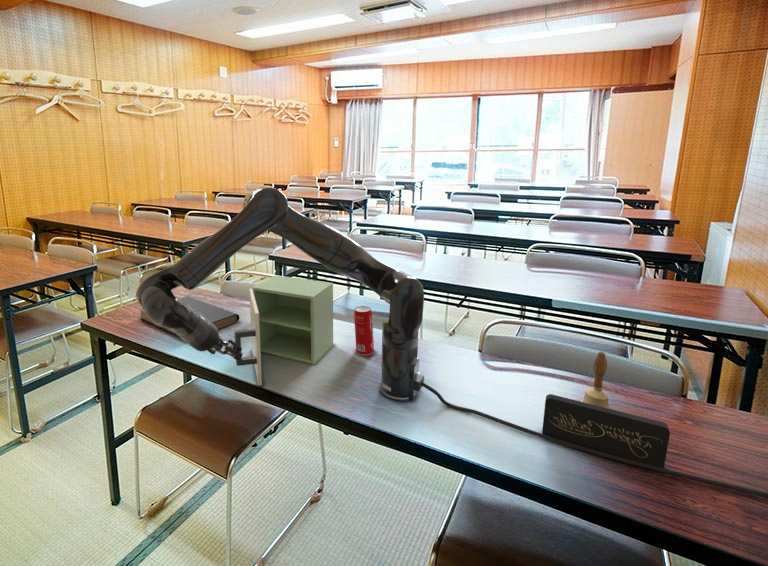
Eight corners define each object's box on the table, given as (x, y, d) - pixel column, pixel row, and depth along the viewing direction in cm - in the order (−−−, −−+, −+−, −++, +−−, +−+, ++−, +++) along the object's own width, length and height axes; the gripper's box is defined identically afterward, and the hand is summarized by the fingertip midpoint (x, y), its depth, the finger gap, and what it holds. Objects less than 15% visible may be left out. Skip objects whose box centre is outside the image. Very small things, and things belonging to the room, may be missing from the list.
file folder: (139, 309, 171) (190, 294, 189) (140, 319, 172) (190, 303, 189) (186, 331, 149) (239, 312, 166) (187, 342, 150) (239, 322, 167)
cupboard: (314, 364, 132) (313, 296, 128) (254, 350, 142) (251, 287, 138) (333, 345, 145) (333, 282, 140) (277, 333, 155) (275, 275, 151)
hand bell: (617, 427, 99) (626, 364, 96) (574, 416, 103) (581, 355, 100) (613, 408, 106) (622, 349, 103) (573, 399, 110) (580, 342, 107)
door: (237, 388, 120) (233, 315, 115) (234, 352, 141) (230, 289, 136) (261, 385, 121) (258, 313, 116) (254, 350, 142) (252, 288, 138)
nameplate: (661, 467, 87) (669, 423, 85) (663, 473, 85) (670, 428, 83) (542, 432, 98) (546, 392, 96) (541, 436, 97) (545, 396, 95)
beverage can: (374, 357, 136) (374, 312, 133) (353, 355, 137) (353, 311, 134) (374, 348, 141) (374, 305, 138) (354, 347, 143) (354, 304, 140)
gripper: (225, 321, 103) (253, 346, 115) (181, 311, 110) (212, 336, 122) (213, 350, 100) (243, 373, 112) (168, 338, 107) (201, 361, 119)
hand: (227, 354), depth 117 cm, fingers open, 8 cm apart
